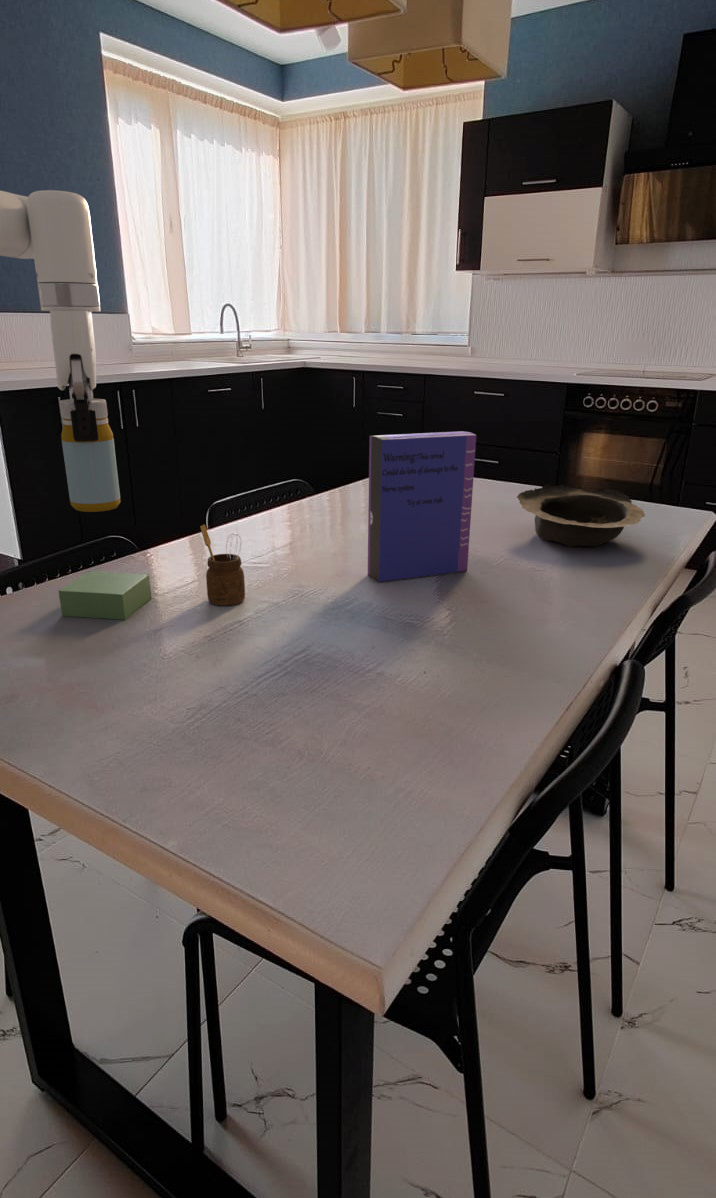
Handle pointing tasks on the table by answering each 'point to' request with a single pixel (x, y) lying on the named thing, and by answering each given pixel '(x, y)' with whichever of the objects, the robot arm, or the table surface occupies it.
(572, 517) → the stone bowl
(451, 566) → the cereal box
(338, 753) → the table surface
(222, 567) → the utensil holder
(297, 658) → the table surface
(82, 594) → the green block
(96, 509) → the bottle
